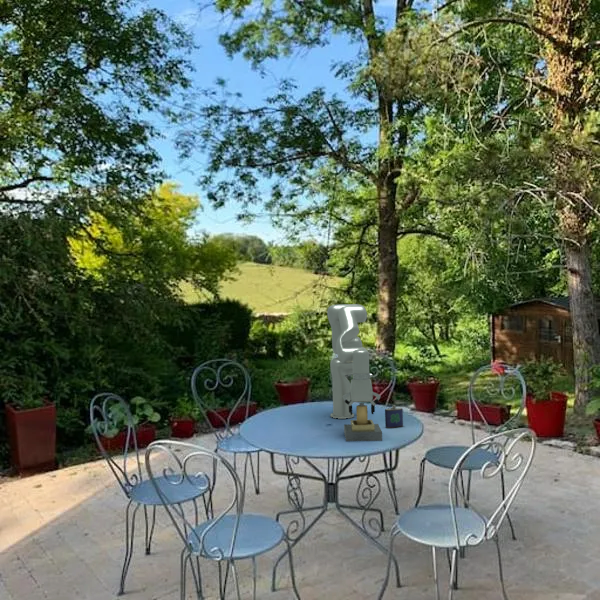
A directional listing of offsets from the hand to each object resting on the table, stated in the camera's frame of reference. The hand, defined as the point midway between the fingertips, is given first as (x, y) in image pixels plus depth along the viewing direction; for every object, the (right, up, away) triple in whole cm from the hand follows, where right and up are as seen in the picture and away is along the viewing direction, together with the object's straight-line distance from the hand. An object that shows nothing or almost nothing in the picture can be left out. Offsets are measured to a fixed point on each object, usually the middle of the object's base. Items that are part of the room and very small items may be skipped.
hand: (361, 413), depth 243 cm
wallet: (+18, -10, +15) cm, 25 cm away
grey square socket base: (0, -10, 0) cm, 10 cm away
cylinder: (0, -6, 0) cm, 6 cm away
